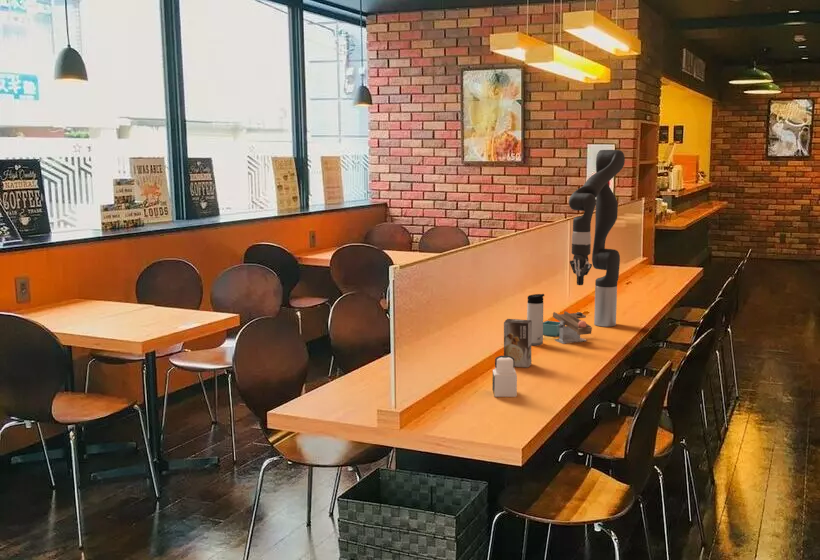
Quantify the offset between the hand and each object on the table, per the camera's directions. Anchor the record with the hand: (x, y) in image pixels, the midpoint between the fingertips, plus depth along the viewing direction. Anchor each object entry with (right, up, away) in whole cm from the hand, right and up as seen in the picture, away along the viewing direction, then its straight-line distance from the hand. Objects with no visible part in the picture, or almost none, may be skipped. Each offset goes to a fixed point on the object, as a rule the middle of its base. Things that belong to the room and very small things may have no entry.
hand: (580, 284), depth 349 cm
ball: (-2, -15, -15) cm, 21 cm away
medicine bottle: (-39, -34, -78) cm, 94 cm away
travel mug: (-20, -23, -11) cm, 33 cm away
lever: (-2, -16, -6) cm, 17 cm away
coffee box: (-31, -29, -43) cm, 60 cm away
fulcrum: (-5, -22, -6) cm, 24 cm away
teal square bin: (-10, -20, +7) cm, 24 cm away
